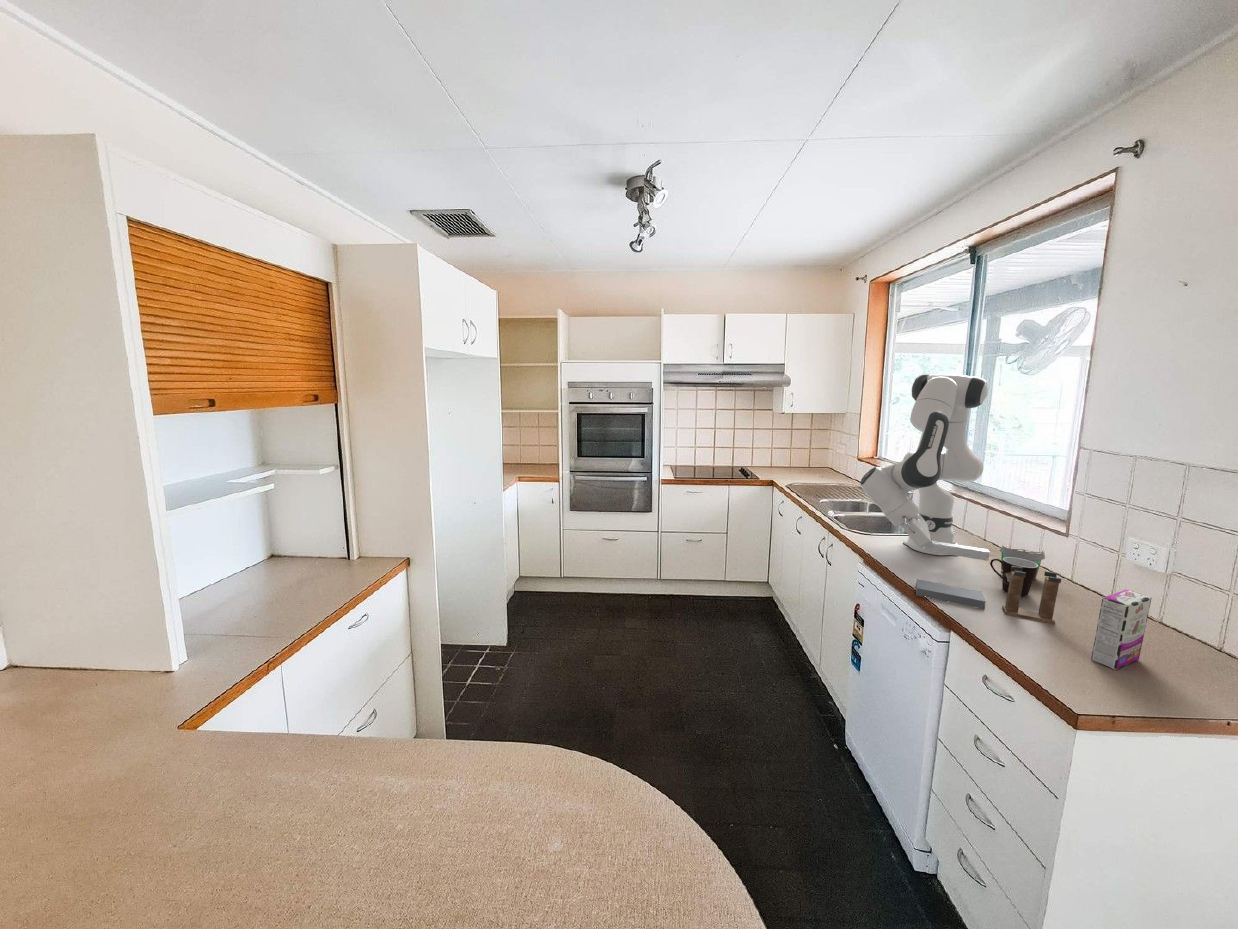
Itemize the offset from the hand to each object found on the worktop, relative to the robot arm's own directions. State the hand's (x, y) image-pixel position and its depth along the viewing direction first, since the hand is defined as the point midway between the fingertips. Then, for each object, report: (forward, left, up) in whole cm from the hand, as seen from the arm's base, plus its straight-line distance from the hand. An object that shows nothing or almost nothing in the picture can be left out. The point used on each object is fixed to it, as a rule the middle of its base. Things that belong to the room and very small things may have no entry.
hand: (936, 548), depth 149 cm
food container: (-36, +19, -15) cm, 43 cm away
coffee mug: (-22, +18, -15) cm, 32 cm away
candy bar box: (+10, +41, -15) cm, 44 cm away
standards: (-4, +23, -15) cm, 28 cm away
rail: (-1, +5, -1) cm, 5 cm away
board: (-1, +5, -15) cm, 15 cm away
